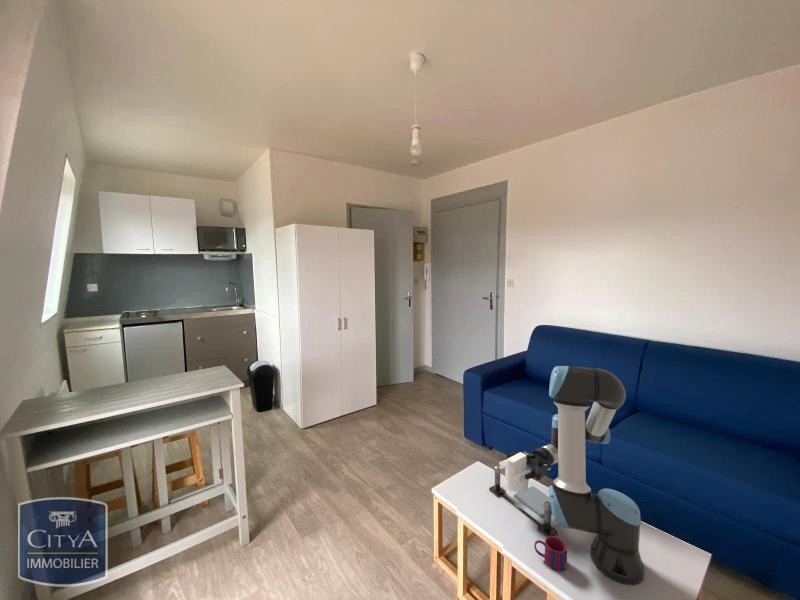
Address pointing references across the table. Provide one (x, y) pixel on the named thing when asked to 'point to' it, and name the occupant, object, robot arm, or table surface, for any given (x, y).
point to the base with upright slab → (516, 473)
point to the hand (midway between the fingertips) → (508, 472)
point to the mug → (554, 553)
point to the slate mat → (533, 500)
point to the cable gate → (543, 528)
